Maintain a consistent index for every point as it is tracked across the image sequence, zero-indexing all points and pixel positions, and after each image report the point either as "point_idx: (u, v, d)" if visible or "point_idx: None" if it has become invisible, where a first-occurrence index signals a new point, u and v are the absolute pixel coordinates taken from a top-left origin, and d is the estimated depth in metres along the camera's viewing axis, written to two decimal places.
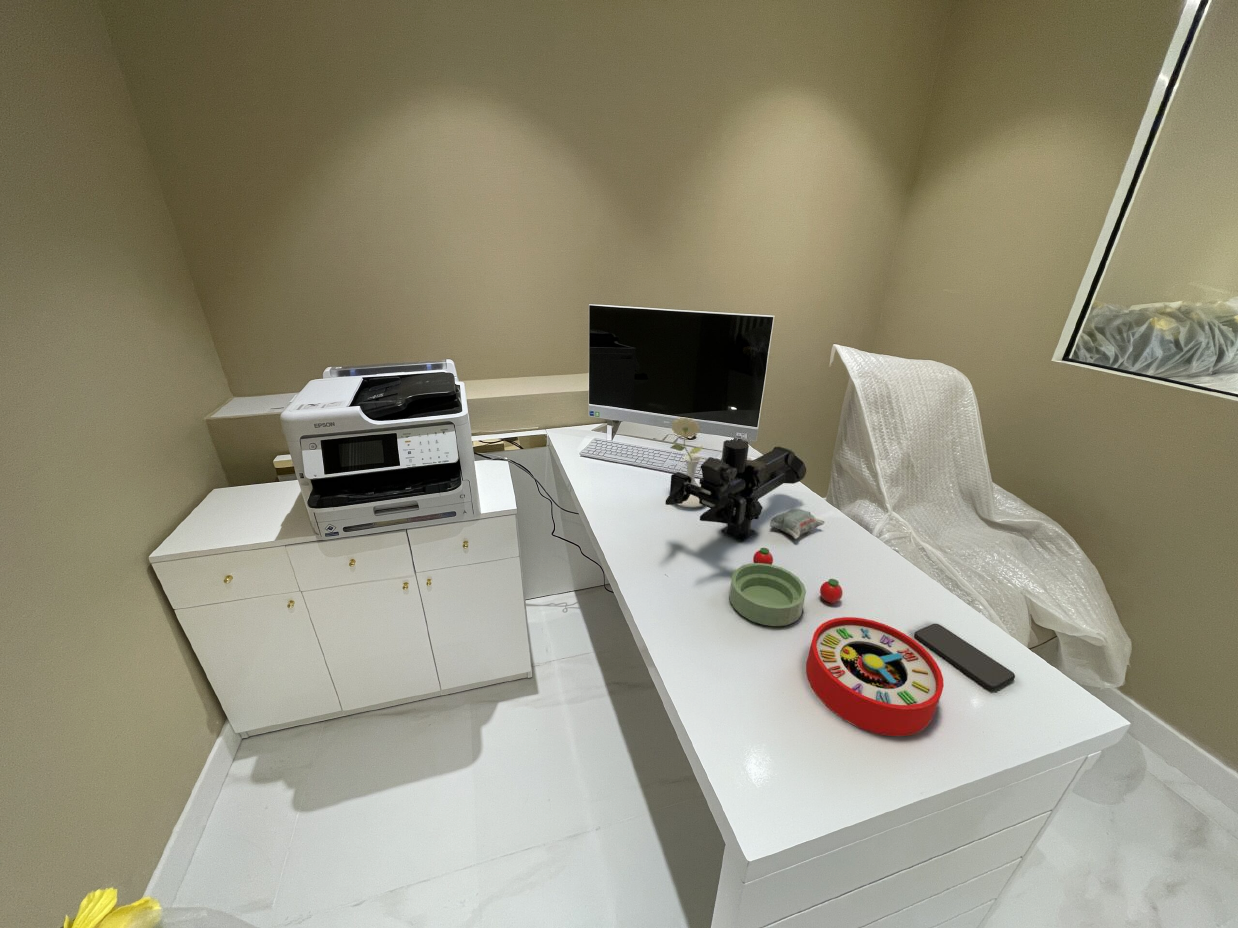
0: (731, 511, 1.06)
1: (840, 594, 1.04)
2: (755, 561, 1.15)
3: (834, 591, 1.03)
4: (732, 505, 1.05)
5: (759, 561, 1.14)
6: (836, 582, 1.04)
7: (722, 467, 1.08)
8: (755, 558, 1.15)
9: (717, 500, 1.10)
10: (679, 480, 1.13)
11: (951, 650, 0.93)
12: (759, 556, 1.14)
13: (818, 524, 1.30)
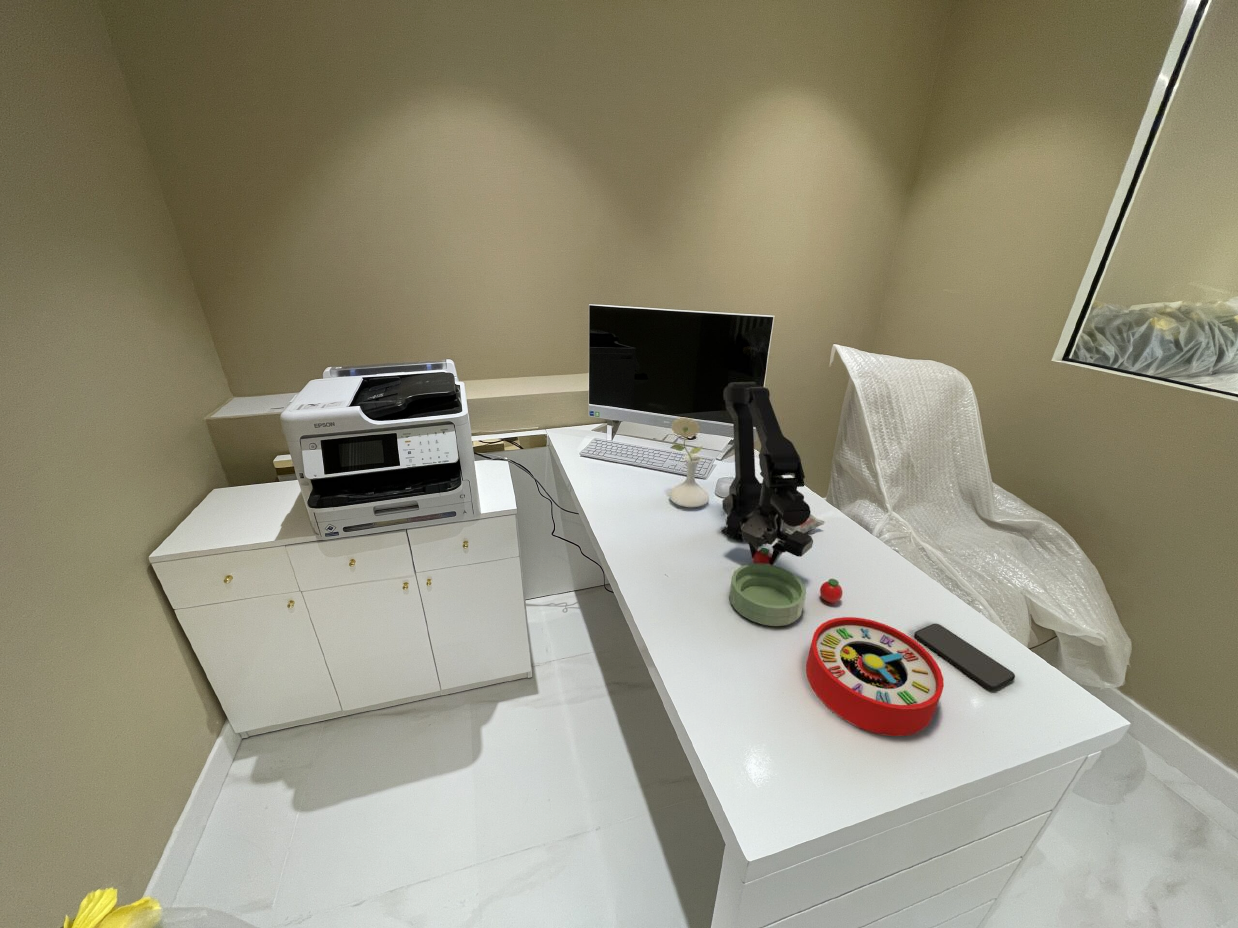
0: None
1: (840, 594, 1.04)
2: (755, 561, 1.15)
3: (834, 591, 1.03)
4: None
5: (759, 561, 1.14)
6: (836, 582, 1.04)
7: (760, 542, 1.05)
8: (755, 558, 1.15)
9: None
10: None
11: (951, 650, 0.93)
12: (759, 556, 1.14)
13: (818, 524, 1.30)
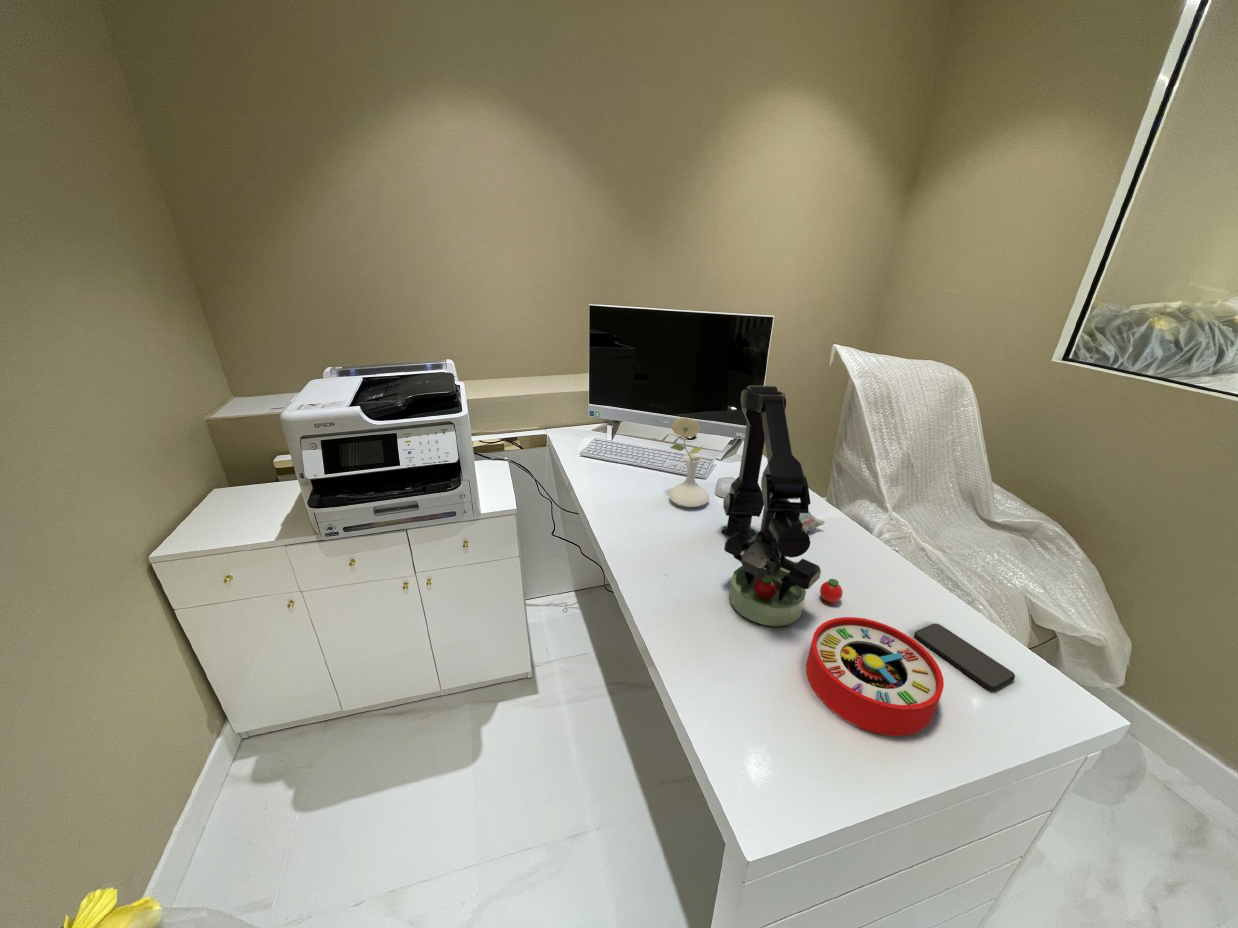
0: None
1: (840, 594, 1.04)
2: (756, 591, 1.04)
3: (834, 591, 1.03)
4: None
5: (761, 591, 1.03)
6: (836, 582, 1.04)
7: (762, 573, 0.95)
8: (756, 588, 1.04)
9: (783, 565, 1.00)
10: (740, 561, 1.04)
11: (951, 650, 0.93)
12: (761, 586, 1.03)
13: (818, 524, 1.30)
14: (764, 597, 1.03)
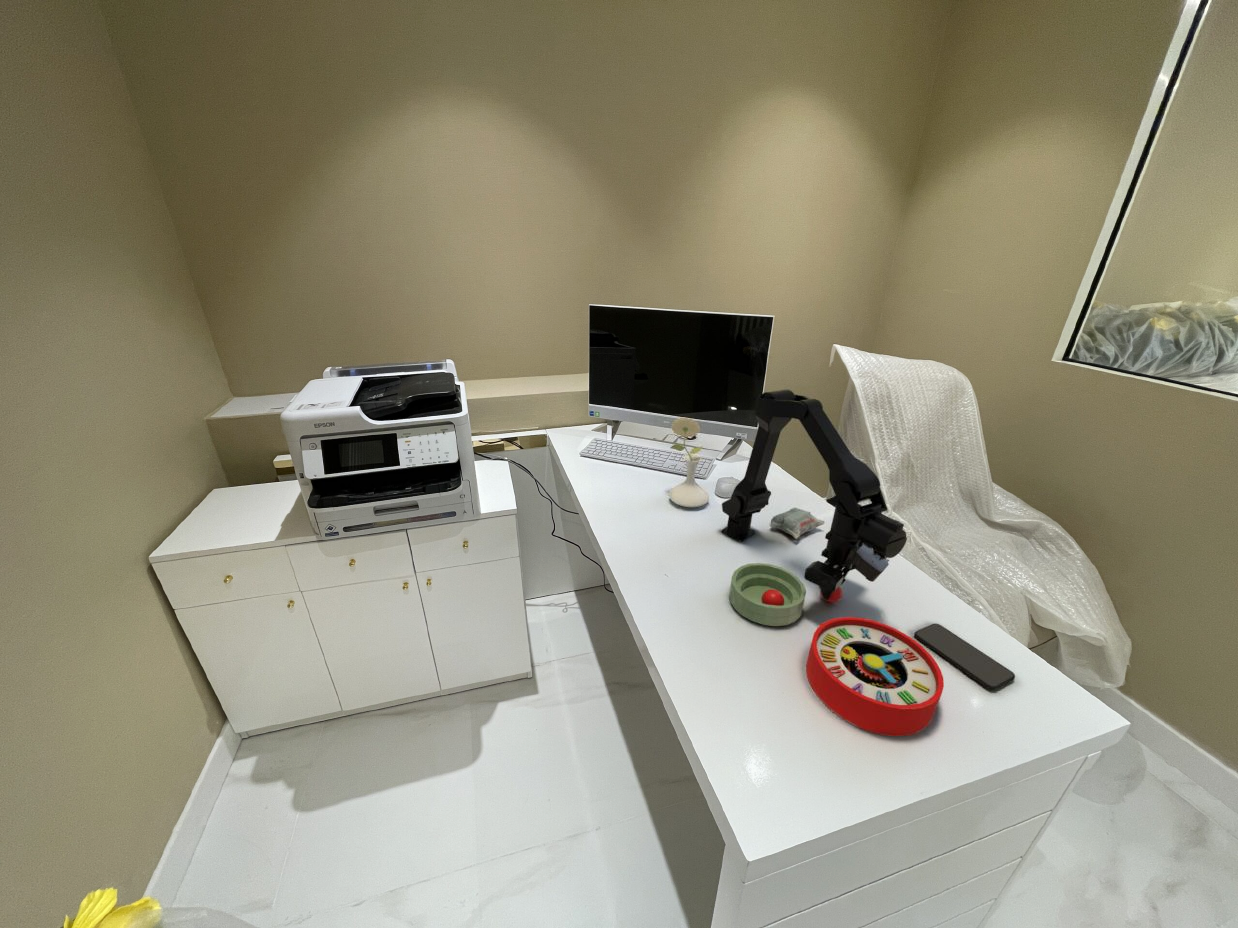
0: None
1: (840, 594, 1.04)
2: None
3: (834, 591, 1.03)
4: None
5: None
6: None
7: None
8: None
9: None
10: None
11: (951, 650, 0.93)
12: None
13: (818, 524, 1.30)
14: None
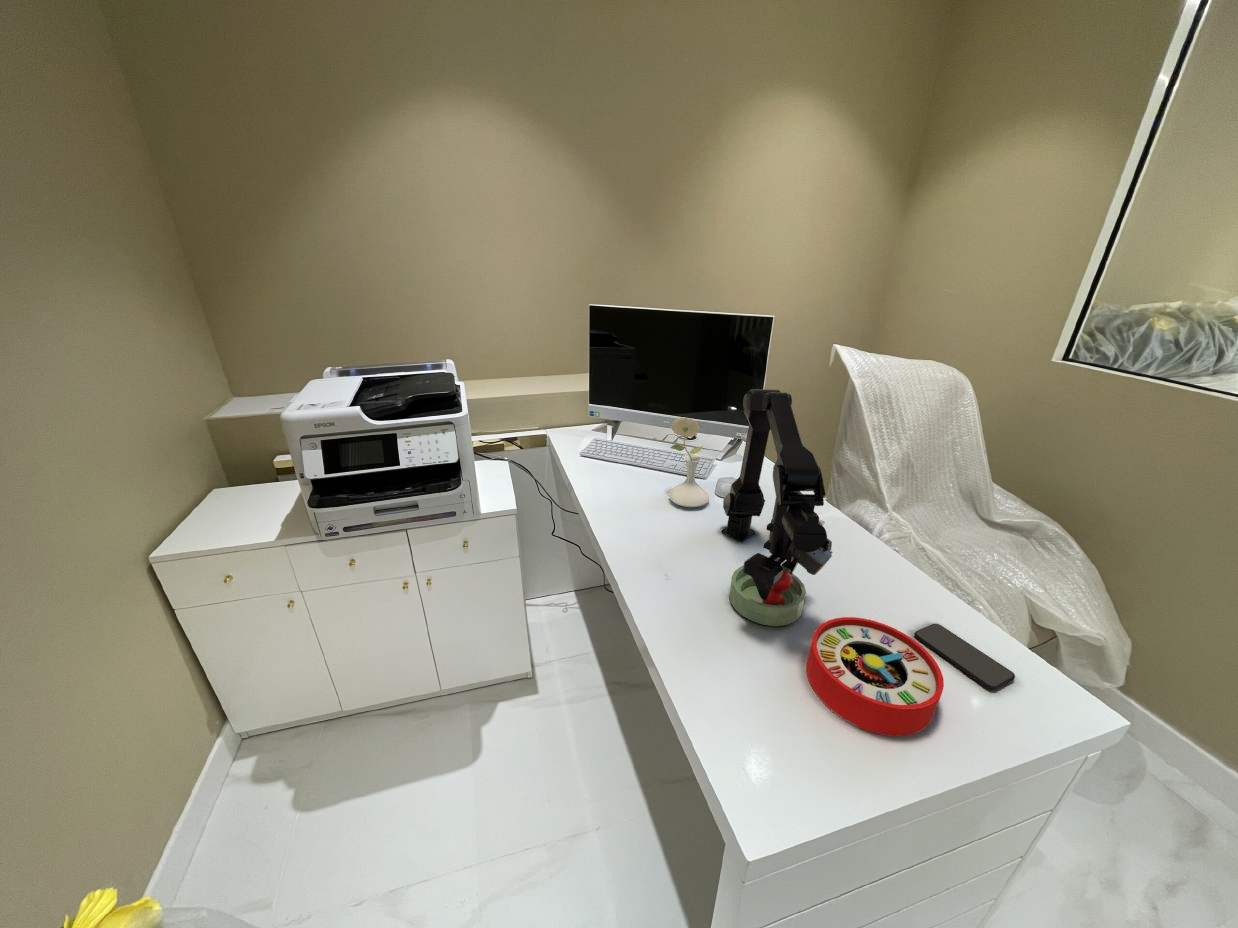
0: None
1: (791, 580, 1.00)
2: (763, 602, 1.01)
3: (786, 574, 1.00)
4: None
5: None
6: (788, 569, 1.02)
7: None
8: (764, 603, 1.01)
9: None
10: None
11: (951, 650, 0.93)
12: None
13: None
14: None
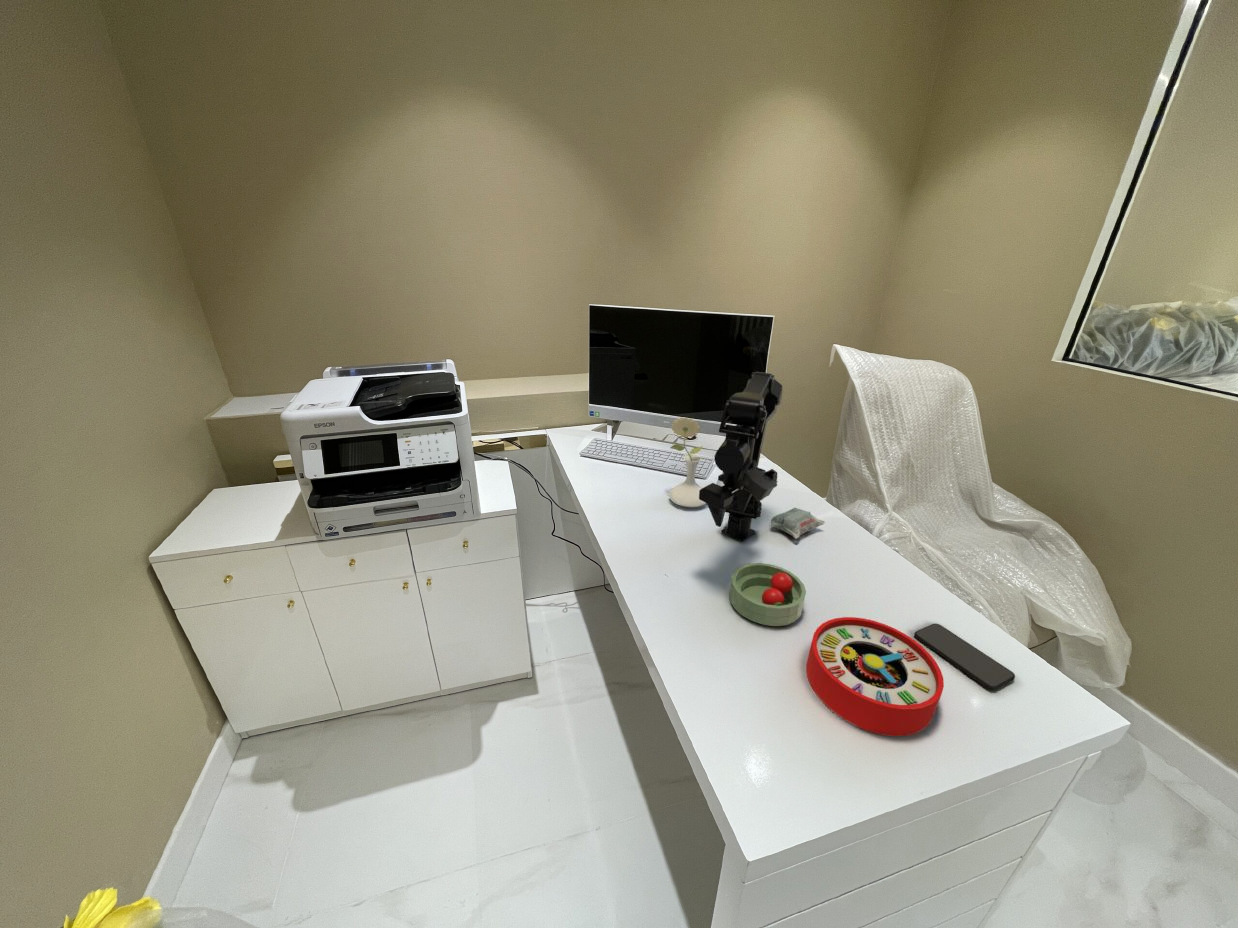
0: None
1: (792, 582, 1.03)
2: (762, 601, 1.02)
3: None
4: None
5: None
6: None
7: None
8: (764, 602, 1.01)
9: None
10: (728, 507, 1.04)
11: (951, 650, 0.93)
12: None
13: (818, 524, 1.30)
14: None
